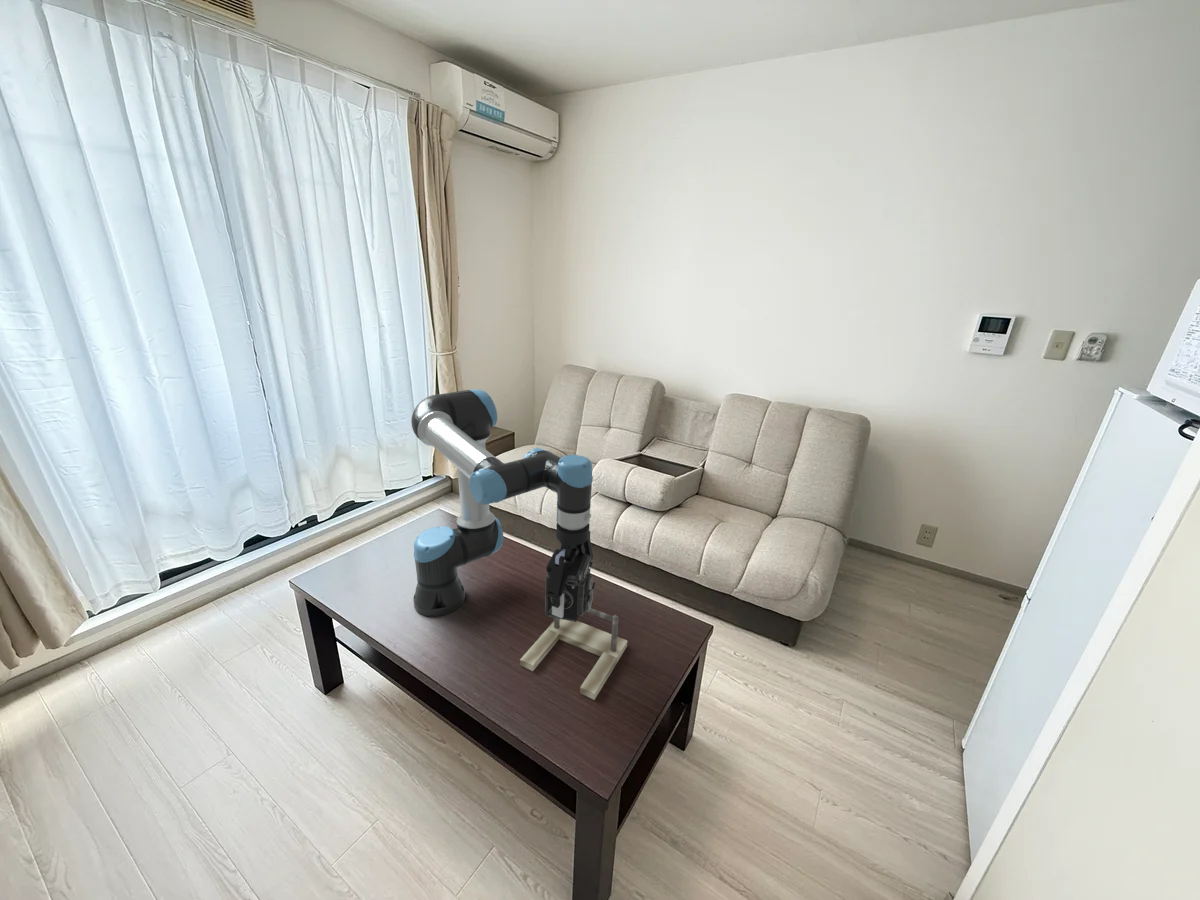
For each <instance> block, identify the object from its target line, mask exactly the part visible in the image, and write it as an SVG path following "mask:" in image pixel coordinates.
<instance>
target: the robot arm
mask: <svg viewBox="0 0 1200 900" xmlns="http://www.w3.org/2000/svg"><path fill="white" fill-rule="evenodd" d="M494 402H495V401H494V400H493V399H492V397H491V395H490V394H488V393H487V392H486V391H485V390H483V389H465V390H460V391H454V392H447V393H438V394H432V395H429V396H427V397H425V398H424V399H421V401H420V402H419V403H418V404H417V405H416V406H415V408H414V410H413V411H412V414H411V420H410V421H411V422H410V423H411V429H412V430H413V431H412V432H413V433H414V434H415V436H416V438H417V439H418V440H419V441H421V443H423V444H425V445H426V446H429V447H433V448H435V449H436V451H437V452H439V453H440V454H441V455H442V456H443V457H444V458H445V459H447V460H448V461H449V462H450V463H451V464H452V465H454V467H456V468H457V469H456V470H457V479H458V490H459V505H460V506H459V507H460V515H459V516H458V517H457V518H456V527H455V528H451V527H449V526H446V525H441V526H434V527H431V528H428V529H426V530H424V531H422V532H421V533H420V534H418V536H416V539H415V540H414V542H413V543H414V544H413V559H414V562H415V563H414V564H415V570H416V572H415V573H416V581H417V583H416V587H415V592H414V594H413V595H414V596H413V606H414V609H415V611H416V612H417V613H419V614H420V615H422V616H425V617H426V616H427V617H440V616H445V615H448V614H451V613H453V612H455V611H456V610H458V609H459V608H460V607H461V606H462V605H463V604H464V602H465V599H466V590H465V587H464V585H463V582H462V581H461V579H460V577H459V575H458V568H460V567H463V566H465V565H468V564H471V563H472V562H475V561H477V560H480V559H483V558H486V557H490V556H491V555H492V554H494V553H497V552H498V551H499V550H500V549H501V548H502V545H503V543H504V530H503V528H502V524H501V522H500V520H499V519H498V518H497V517H496V516H495V515H494V513H492V511H490V504H494V503H500V502H503V501H505V500H508V499H510V498H514V497H516V496H519V495H523V494H526V493H529V492H533V491H535V490H538V489H541V488H547V489H549V490H550V491H552V492H554V493H556V496H557V497H556V500H557V501H556V529H555V532H556V534H555V536H556V539H557V540H558V542H559V543H560V547H559V549H560V553H559V554H558V555H557V554H553V553H552V555H553V557H552V556H551V557H552V568H551V573H550V578H549V583H548V588H547V593H546V595H547V596H549V597H551V598H552V615H555V616H557V617H560V618H563V616H564V593H562V592H563V589H564V586H565V583H566V579H567V576H568V570H569V568H570V567H572V566H573V563H574V560H575V558H576V557H577V556H578V555H579V554H581V555H584V553H585V554H586V555H589V556H590V557H591V564H590V566H589V568H591V567H592V566H593V562H592V560H593V558H594V553H593V548H592V547H593V546H592V542H591V531H590V521H591V520H590V519H591V517H592V514H591V505H592V504H591V503H592V488H593V487H592V485H593V479H594V476H593V462H592V461H591V460H590V459H589V458H588V457H586V456H583V455H579V454H566V455H564V456H562V457H560V456H558V455H557V454H555V453H553V452H552V451H549V450H545V449H543V448H538V447H536V448H533V449H530V450H529V451H528V452H527V453H525V454H524V456H523V458H521V459H516V460H513V461H509V462H502V461H501V460H500V459H498V458H497V457H496V456H494V454H492V453H491V452H489V450H487V449H486V441H487V440H488V439H489V438H490V437H491V428H493V427H495V426H496V424H497V422H498V411H497V407H496V404H495V403H494ZM565 560H567V561H570V562H569V563H567V562H565Z"/></svg>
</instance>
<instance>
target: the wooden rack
mask: <svg viewBox="0 0 1200 900" xmlns="http://www.w3.org/2000/svg"><path fill="white" fill-rule="evenodd" d="M584 613H587V614H590V615H592V616H596V617H598V618H600V619H603V620H606V621H609V622H612V623H611V633H609V632H608V631H604V630H602V629H600V628H597V627H594V626H592V625H589V624H586V623H584V622H581V621H579V620H577V621H576V622H574V621H568V620H563V619H558V618H553V621H552V622H551V623H550V625H549V626H548V627H547V629H546V630H545V631H543V633H541V635H540V636H539V637H538V639H537V640H536V641H535V642H534V643H533V645H531V646H530V647H529V648H528V650H527V651H526V652H525V653H524V654H523V656H522V657H521V658H520V659H519V666H520V667H523V668H525V669H527V670H528V671H529V670H530V671H531V672H534V671H535V669H536V668H537V667H538V666H539V665H540V663H541V662H542V661H543V660H544V659H545V657H546V656H547V655H548V654H549V652H550V651H551V650H552V649H553V647H554V646H555V645H556V644H557V642H558V641H559V640H560V641H563V642H565V643H567V644H569V645H572V646H574V647H577V648H579V649H581V650H584V651H586V652H587V653H588V652H589V653H591V654H593V655H596V656H597V657H599V658H598V660H597V662H596V663H595V664H594V665H593V667H592V669H591V671H590V672H589V674H588V675H587V676H586V678H585V679H584V681H583V682H582V684H581V685H580V687H579V688H580V689H579V693H580V695H583V696H585V697H587V698H589V699H591V700H594V701H595V700H596V698H597V696H598V695H599V694H600V692H601V690H602V689H603V687H604V685H605V684H606V681H607V680H608V678H609V677H610V676H611V673H612V672H613V670H614V669H615V667H616V665H617V664H618V662H619V660H620V659H621V657H622V656H623V653H625V650H626V649H627V647H628V640H627V639H624V638H621V637H620V636H618V633H619V632H618V631H619V615H617V614H614V615H610V614H609V613H605V612H603V611H600V610H597V609H594V608H592V607H590V608H588V610H587V611H585V612H584Z"/></svg>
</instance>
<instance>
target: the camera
mask: <svg viewBox="0 0 1200 900" xmlns="http://www.w3.org/2000/svg"><path fill="white" fill-rule="evenodd" d="M559 553H560V548H559V549H558V548H557V549H554V552H553V553H552V555H551V558H550V559H549V561H548V563H547V565H546V575H545V587H544V588H545V590H544V591H545V598H544V599H545V602H544V605H545V606H544V613H545V615H546V616H547V617H548V618H553V619H554V618H558V619H563V620H568V621H574V622H576V621H578V617H579V616H581V617H582V616H584V614H585V613H586V612H585V611H587V610H588V608H592V604H593V599H594V590H595V586H596V585H595V583H596V582H594V577H593V575H592V574H591V567H590V564H591V562H592V560H591V557H590V556H589V555H586V554H585V553H584V555H581V554H579V555H578V556H577V557H576V558H575V560H574V563H573V566H572V567H570V568H569V570H568V576H567V579H566V583H565V586H564V589H563V592H562V593H564V616H563V618H560V617H557V616H555V615H552V598H551V597H549V596H547V595H546V593H547V588H548V583H549V578H550V573H551V568H552V557H553V554H557V555H558V554H559ZM565 562H567V563H569V562H570V561H567V560H565Z"/></svg>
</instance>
